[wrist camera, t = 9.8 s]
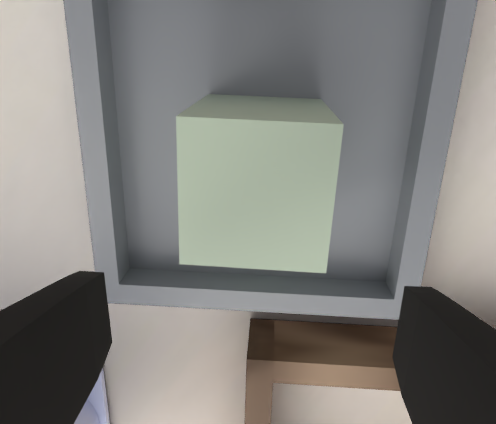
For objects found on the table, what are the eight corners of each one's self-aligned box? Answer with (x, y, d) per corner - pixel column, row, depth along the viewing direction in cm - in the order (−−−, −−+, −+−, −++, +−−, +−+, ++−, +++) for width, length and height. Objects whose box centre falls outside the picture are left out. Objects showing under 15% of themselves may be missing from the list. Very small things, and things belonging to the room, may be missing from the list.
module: (208, 199, 19) (179, 264, 13) (208, 93, 17) (175, 116, 11) (310, 205, 19) (326, 273, 13) (321, 99, 17) (343, 124, 11)
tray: (114, 280, 21) (98, 302, 19) (82, -46, 16) (56, -58, 14) (401, 295, 20) (414, 320, 19) (462, -39, 15) (487, -50, 13)
